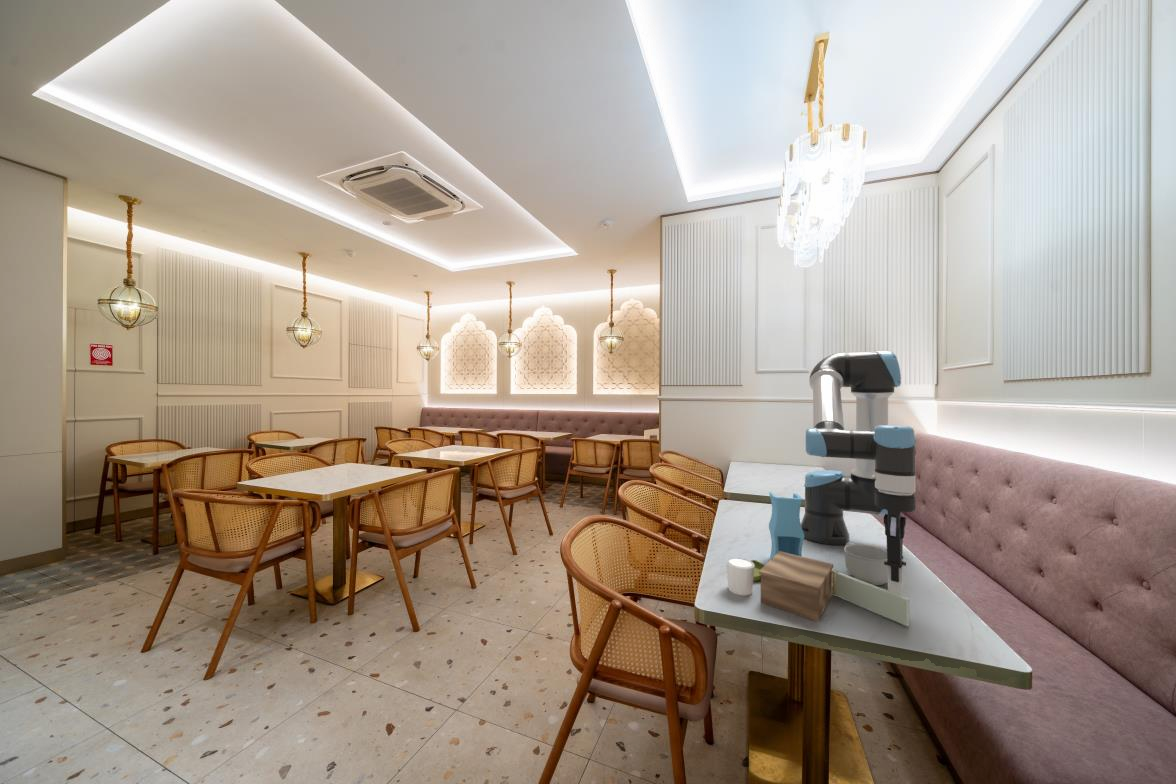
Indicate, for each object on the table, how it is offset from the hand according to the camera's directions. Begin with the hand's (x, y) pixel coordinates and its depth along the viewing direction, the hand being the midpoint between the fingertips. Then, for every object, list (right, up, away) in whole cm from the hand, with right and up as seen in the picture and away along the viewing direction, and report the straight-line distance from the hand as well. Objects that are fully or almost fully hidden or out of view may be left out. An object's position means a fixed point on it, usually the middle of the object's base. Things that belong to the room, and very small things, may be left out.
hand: (895, 593), depth 91 cm
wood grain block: (-20, -4, +5) cm, 21 cm away
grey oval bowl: (+4, -4, +16) cm, 17 cm away
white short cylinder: (-33, -4, +9) cm, 34 cm away
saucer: (-25, -4, +18) cm, 31 cm away
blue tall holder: (-12, -4, +26) cm, 29 cm away
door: (-7, -3, 0) cm, 7 cm away
